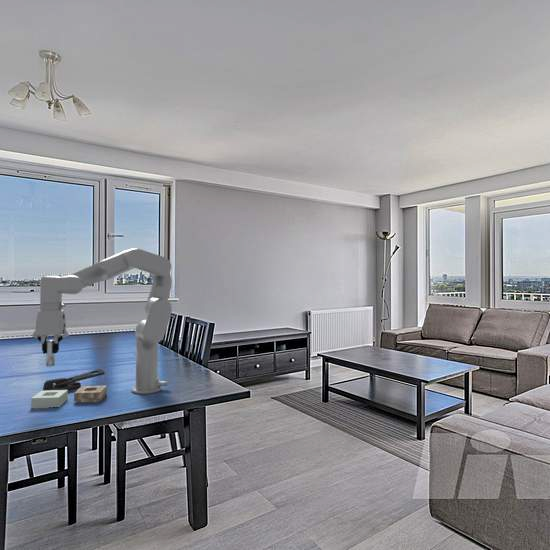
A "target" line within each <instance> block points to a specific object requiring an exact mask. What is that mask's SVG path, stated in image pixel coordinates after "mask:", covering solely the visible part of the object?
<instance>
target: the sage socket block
mask: <svg viewBox="0 0 550 550" xmlns="http://www.w3.org/2000/svg"><path fill="white" fill-rule="evenodd" d="M68 398H69V392H68V390H47V391H43V390H41V391H39V392H37V393H36V394H35V395H33V397H31V398H30V409H31V408H33V409H53V408H52V407H59V408H60V407H61V406H63V404H64V403H66V402H67V401H68V400H69V399H68ZM67 399H68V400H67ZM66 400H67V401H66ZM65 401H66V402H65ZM49 407H51V408H49Z"/></svg>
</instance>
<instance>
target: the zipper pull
mask: <svg viewBox="0 0 550 550" xmlns="http://www.w3.org/2000/svg"><path fill="white" fill-rule="evenodd" d="M105 374H106V373H105V370H104V369H94V370H92V371H87V372H85V373H81V374H78V375H77V374H76V375H74V376H70V377H67V378H66V377H60V378H54V379H53V378H52V379H47V380H46V381H45V382H44V384H43V387H42V391H47V390H68V391H70V392H72V391H71V390H76V391H77V389H79V388H80V387H82V385H81V383H80V381H83V380H87V379H92V378H96V377H99V376H102V375H103V376H104V375H105Z"/></svg>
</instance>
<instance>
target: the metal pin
mask: <svg viewBox="0 0 550 550" xmlns="http://www.w3.org/2000/svg"><path fill="white" fill-rule="evenodd" d="M53 344H54V339H47V341H46V353H45V363H46V364H45V366H46V367H54V366H55V361H56V360H55V359H56V358H55V357H56V355H55V354H56V353H55V354H54V353H53Z"/></svg>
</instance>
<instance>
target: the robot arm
mask: <svg viewBox="0 0 550 550" xmlns="http://www.w3.org/2000/svg"><path fill="white" fill-rule="evenodd" d="M133 269H137V270H140V271H142V272H145V273H149V275H150V276H151V279H152V285H151V289H150V292H149V295H148V297H147V300H146V303H145V306H144V311H145V313H146V315H147V317H146V319H143V320H141V321H139V322H138V323H137V325H136V326H135V329H134V334H135V335H134V338H135V385H134V386H133V387H132V388H131V392H132V393H134V394H139V395H148V394H155V393H157V392H160V391H161V390H162V387H168V386H169V381H166V380H160V378H159V377H158V376H159V343H160V342H161V341H162V340H163V338H164V336H165V334H166V331H167V328H168V326H169V323H170V320H171V316H172V311H173V307H172V304H171V302H170V301H169V298H170V294H171V290H172V286H173V283H172V282H173V280H172V275H171V273H170V272H171V271H172V263H171V261H170V260H169V259H168V258H167V257H166V256H163V255H159V254H156V253H153V252H150V251H148V250H147V251H146V250H145V249H144V250H143V249H141V248H135V247H134V248H130V249H127V250H123V251H122V252H119V253H117V254H114V255H112V256H110V257H107V258H105V259H102V260H101V261H98V262H96V263H94V264H92V265H90V266H88V267H86V268H83V269H80V270H78V271H76V272H74V273H72V274H69V275H67V276H58V275H46V276H45V275H44V276H42V277H40V283H39V284H40V294H39V295H40V296H39V307H40V309H39V310H38V311H37V316H36V322H35V331H33V333H32V337H33V338H35V339H37V340H38V341H39V342H40V344H41V351H42V354H43V355H46V341H47V340H48V336H51V337H53V338H54V339H53V340H54V344H53V353H54V354H57V353H58V352H59V350H60V343H61V341H63V339H65V338H67V337H69V335H70V334H69V333H68V331H67V321H66V320H67V319H66V313H65V310H64V309H63V308H66V306H67V305H66V304H65V303H63V298H62V297H63V296H62V295H63V294H64V295H65V294H66V295H76V294H79V293H81V292H82V291H83V289H84V288H87V287H89V286H91V285H94V284H96V283H100V282H105V281H108V280H111V279H114V278H116V277H118V276H120V275H123V274H124V273H128V272H129V271H131V270H133Z"/></svg>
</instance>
